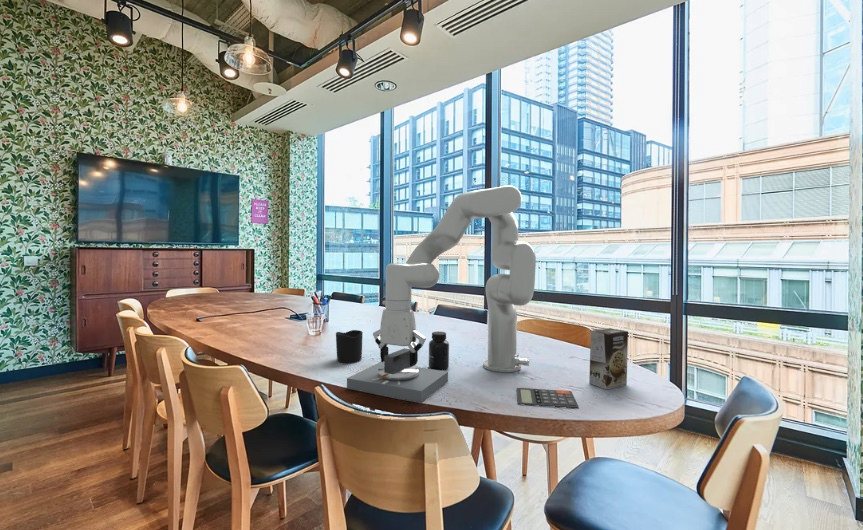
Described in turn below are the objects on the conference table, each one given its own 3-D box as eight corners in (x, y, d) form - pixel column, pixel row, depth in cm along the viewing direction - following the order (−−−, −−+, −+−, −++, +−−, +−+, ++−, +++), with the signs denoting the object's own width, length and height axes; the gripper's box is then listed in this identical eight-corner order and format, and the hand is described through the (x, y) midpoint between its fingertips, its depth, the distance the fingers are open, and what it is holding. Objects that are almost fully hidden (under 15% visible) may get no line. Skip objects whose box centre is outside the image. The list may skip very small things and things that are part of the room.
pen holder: (341, 356, 149) (341, 329, 148) (366, 357, 148) (365, 330, 147) (331, 363, 140) (331, 335, 139) (357, 364, 138) (357, 335, 138)
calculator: (578, 406, 101) (518, 402, 103) (578, 410, 101) (518, 406, 103) (571, 390, 112) (516, 387, 115) (571, 393, 112) (516, 390, 115)
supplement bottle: (425, 369, 132) (425, 333, 132) (433, 364, 139) (433, 330, 138) (444, 372, 130) (444, 335, 129) (451, 366, 136) (451, 331, 135)
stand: (448, 381, 121) (448, 370, 121) (421, 402, 105) (421, 390, 104) (380, 370, 131) (380, 361, 131) (346, 388, 115) (346, 377, 115)
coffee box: (606, 390, 114) (608, 334, 113) (588, 383, 119) (589, 329, 118) (627, 385, 118) (629, 331, 117) (609, 378, 123) (610, 327, 123)
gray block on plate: (394, 365, 126) (394, 345, 126) (426, 371, 120) (426, 350, 119) (364, 378, 113) (364, 356, 113) (398, 386, 107) (398, 362, 107)
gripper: (366, 305, 117) (366, 362, 118) (419, 309, 110) (419, 370, 110) (380, 302, 124) (380, 356, 125) (430, 305, 116) (430, 363, 117)
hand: (398, 363), depth 117 cm, fingers open, 9 cm apart
